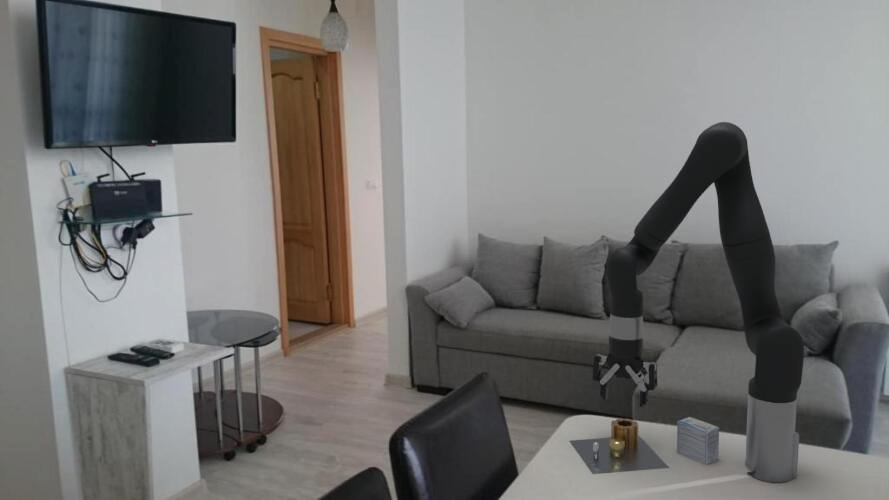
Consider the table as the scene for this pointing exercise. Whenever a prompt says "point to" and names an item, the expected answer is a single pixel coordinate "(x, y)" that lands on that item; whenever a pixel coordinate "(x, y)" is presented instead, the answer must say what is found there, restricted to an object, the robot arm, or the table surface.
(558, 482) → the table surface
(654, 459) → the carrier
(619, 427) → the planet gear
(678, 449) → the medicine box
